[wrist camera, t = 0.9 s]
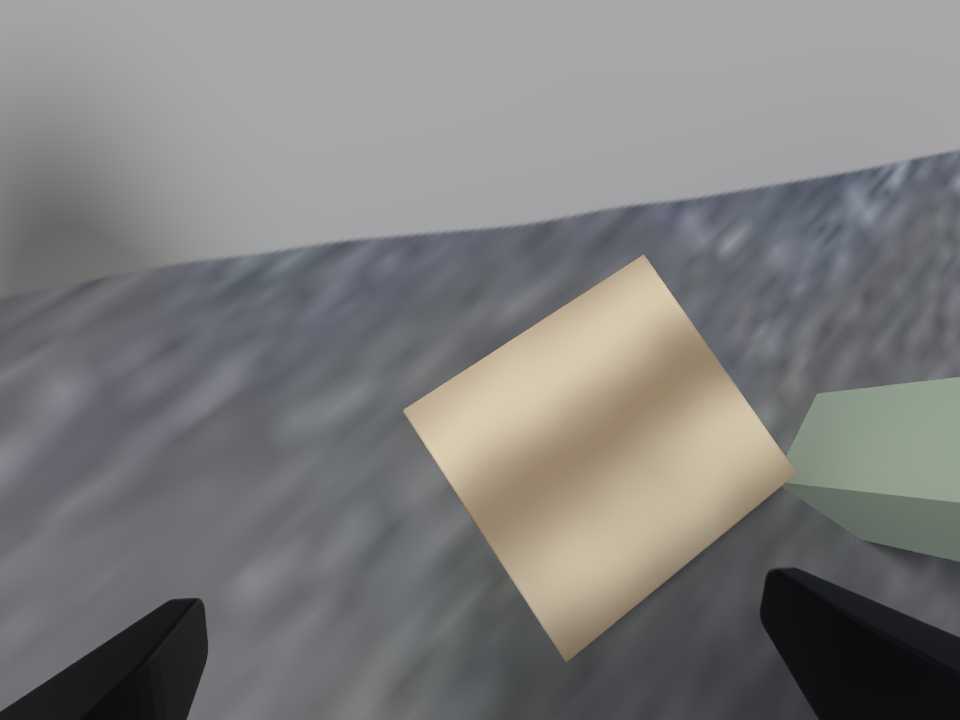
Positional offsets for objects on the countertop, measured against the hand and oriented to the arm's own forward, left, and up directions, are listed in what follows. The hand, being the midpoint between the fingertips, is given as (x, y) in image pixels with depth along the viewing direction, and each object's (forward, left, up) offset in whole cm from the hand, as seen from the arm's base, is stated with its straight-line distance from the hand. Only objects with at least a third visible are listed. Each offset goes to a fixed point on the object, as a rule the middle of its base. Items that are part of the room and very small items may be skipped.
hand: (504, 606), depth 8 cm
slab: (-1, -6, -14) cm, 15 cm away
